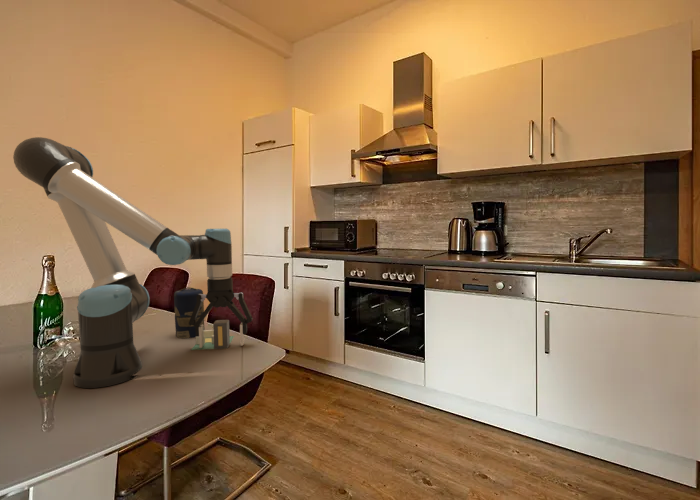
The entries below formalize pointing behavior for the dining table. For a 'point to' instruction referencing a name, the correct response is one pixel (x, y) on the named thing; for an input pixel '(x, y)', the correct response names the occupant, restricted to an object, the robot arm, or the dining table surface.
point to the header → (207, 337)
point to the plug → (221, 334)
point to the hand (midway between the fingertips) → (222, 345)
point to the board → (208, 345)
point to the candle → (186, 311)
